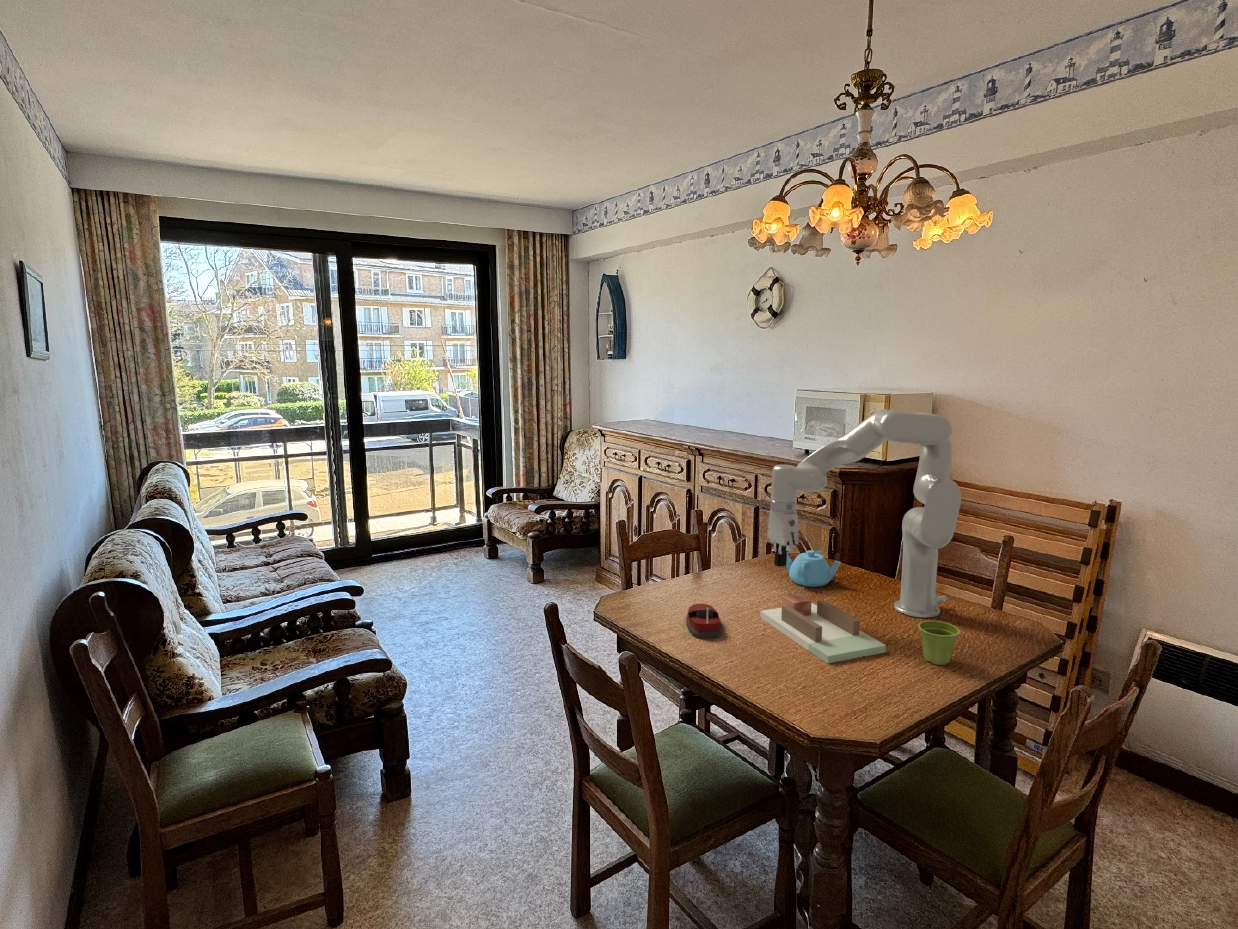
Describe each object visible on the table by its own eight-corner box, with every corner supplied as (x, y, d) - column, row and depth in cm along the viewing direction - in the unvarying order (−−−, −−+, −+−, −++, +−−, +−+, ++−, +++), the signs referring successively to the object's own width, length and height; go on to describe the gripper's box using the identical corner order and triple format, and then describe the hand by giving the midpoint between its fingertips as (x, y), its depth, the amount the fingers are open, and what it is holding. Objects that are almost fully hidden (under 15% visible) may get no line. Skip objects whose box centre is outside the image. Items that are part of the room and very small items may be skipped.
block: (798, 607, 197) (799, 593, 197) (811, 615, 192) (811, 600, 191) (781, 610, 196) (782, 596, 195) (793, 618, 190) (793, 603, 189)
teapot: (779, 575, 233) (780, 546, 231) (818, 572, 236) (820, 543, 234) (799, 590, 218) (799, 559, 216) (840, 586, 221) (842, 555, 219)
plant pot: (962, 670, 162) (964, 637, 160) (921, 667, 164) (923, 634, 162) (951, 653, 171) (953, 621, 169) (912, 650, 173) (914, 619, 171)
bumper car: (715, 615, 199) (715, 583, 197) (727, 643, 179) (728, 608, 177) (682, 615, 198) (683, 583, 197) (691, 644, 179) (691, 609, 177)
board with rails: (811, 609, 202) (812, 590, 201) (885, 652, 172) (886, 630, 171) (760, 617, 196) (760, 598, 195) (827, 663, 166) (828, 641, 165)
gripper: (809, 511, 191) (805, 572, 194) (780, 500, 204) (777, 557, 207) (786, 512, 188) (783, 574, 191) (759, 501, 202) (756, 559, 205)
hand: (780, 565), depth 199 cm, fingers closed
